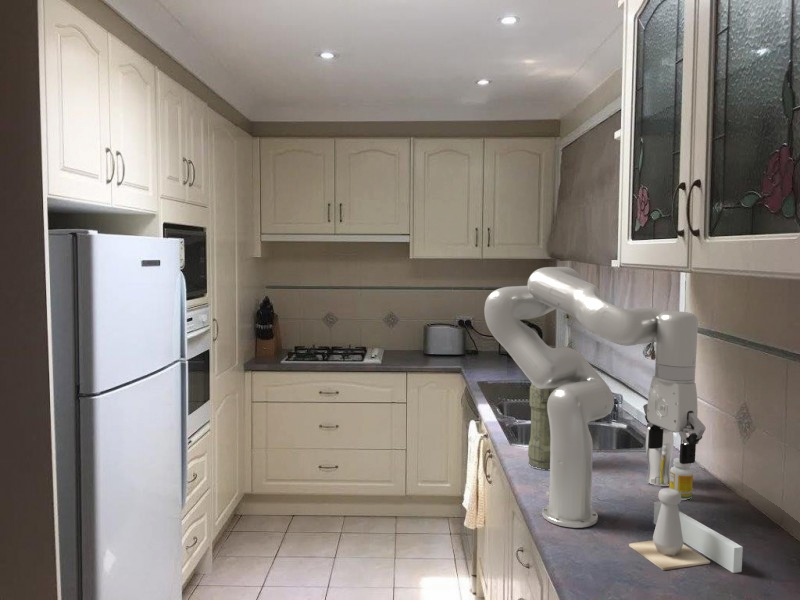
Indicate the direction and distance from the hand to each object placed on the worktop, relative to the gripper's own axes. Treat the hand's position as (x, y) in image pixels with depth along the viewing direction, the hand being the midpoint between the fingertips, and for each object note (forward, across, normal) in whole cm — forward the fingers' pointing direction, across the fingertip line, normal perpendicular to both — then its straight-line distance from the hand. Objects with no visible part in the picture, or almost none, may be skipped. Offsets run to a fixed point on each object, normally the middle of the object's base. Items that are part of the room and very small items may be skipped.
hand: (670, 455), depth 133 cm
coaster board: (+21, +1, 0) cm, 21 cm away
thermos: (+22, -56, +2) cm, 61 cm away
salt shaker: (+20, 0, 0) cm, 21 cm away
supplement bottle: (+21, -25, +24) cm, 41 cm away
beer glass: (+21, -35, +25) cm, 48 cm away
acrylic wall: (+21, -1, +8) cm, 22 cm away
